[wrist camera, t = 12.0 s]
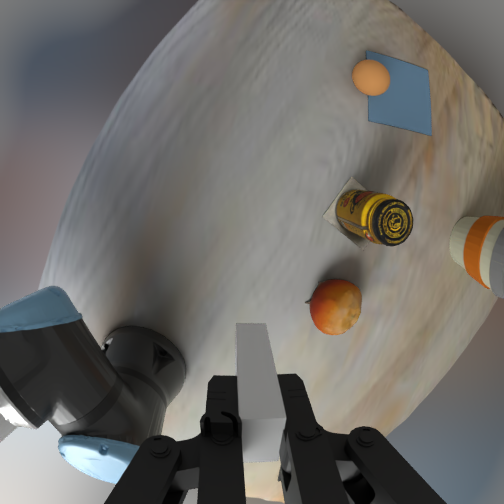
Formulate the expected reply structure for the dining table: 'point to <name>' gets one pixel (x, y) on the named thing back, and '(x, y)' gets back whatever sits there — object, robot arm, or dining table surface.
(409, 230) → the condiment
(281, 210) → the dining table surface
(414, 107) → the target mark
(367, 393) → the dining table surface
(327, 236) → the dining table surface
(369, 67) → the ball
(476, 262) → the reusable coffee cup
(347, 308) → the fruit
